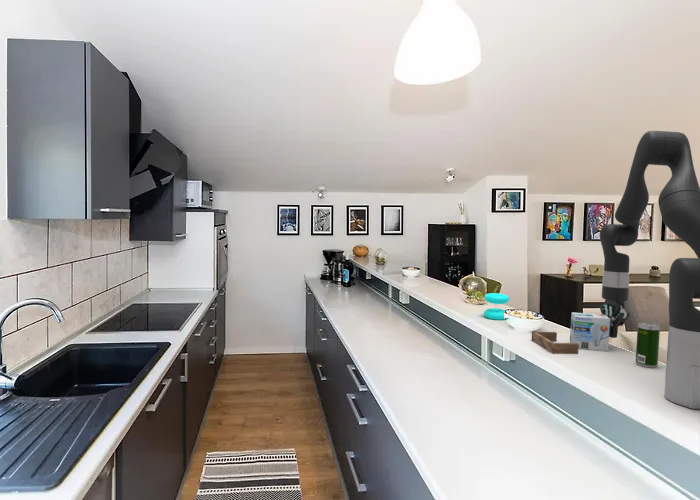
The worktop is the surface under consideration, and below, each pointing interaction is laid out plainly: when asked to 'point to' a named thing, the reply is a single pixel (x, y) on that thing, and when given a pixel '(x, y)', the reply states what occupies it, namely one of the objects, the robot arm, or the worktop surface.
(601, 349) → the light bulb box
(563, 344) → the wooden u-shaped bracket
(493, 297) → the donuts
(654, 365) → the green metal cylinder
